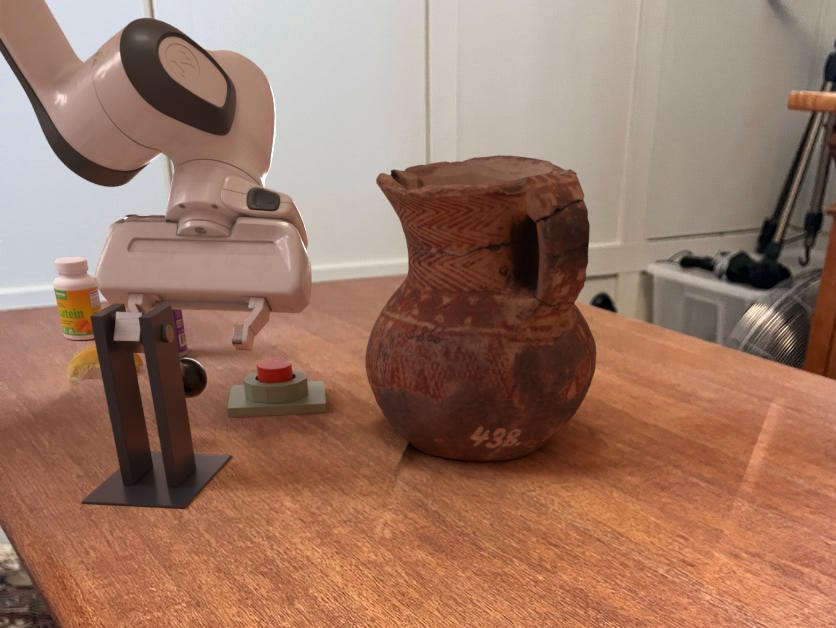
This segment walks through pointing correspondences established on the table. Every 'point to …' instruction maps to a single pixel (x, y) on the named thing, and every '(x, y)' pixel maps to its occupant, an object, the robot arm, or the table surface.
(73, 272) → the supplement bottle
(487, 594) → the table surface
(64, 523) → the table surface
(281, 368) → the button
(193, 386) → the ball knob lever
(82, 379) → the yellow curved piece
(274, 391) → the switch box
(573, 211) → the jug
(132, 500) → the dark wooden stand
